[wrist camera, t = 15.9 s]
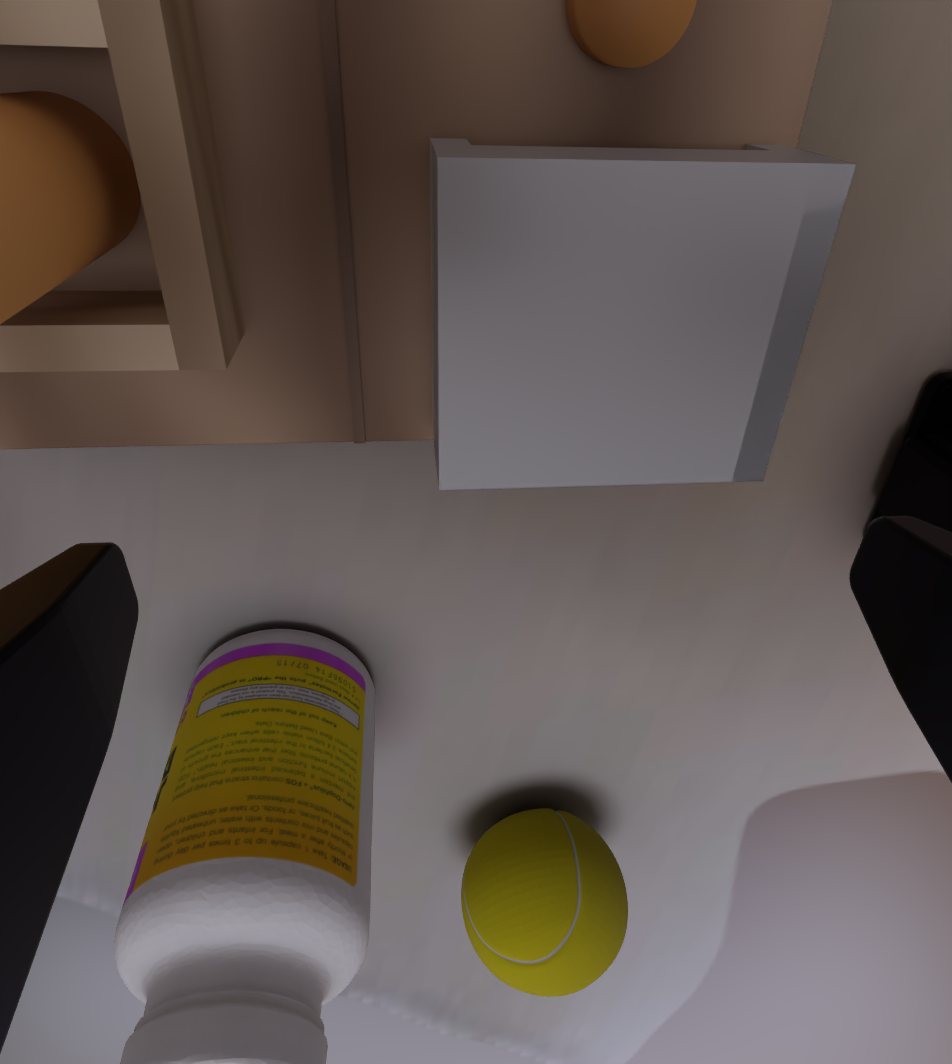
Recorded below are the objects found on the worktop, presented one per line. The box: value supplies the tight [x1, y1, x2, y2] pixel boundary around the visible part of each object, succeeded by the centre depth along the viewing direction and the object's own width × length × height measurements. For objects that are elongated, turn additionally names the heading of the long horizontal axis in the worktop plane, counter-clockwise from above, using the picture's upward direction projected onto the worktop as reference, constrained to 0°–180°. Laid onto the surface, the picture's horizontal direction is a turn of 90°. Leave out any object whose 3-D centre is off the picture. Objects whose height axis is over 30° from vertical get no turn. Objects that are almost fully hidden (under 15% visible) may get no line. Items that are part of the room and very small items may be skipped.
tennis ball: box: [461, 808, 628, 997], centre depth 30 cm, size 7×7×7 cm
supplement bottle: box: [114, 629, 375, 1064], centre depth 21 cm, size 7×7×13 cm
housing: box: [430, 138, 856, 490], centre depth 16 cm, size 8×7×3 cm
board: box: [0, 0, 833, 449], centre depth 15 cm, size 20×14×4 cm
